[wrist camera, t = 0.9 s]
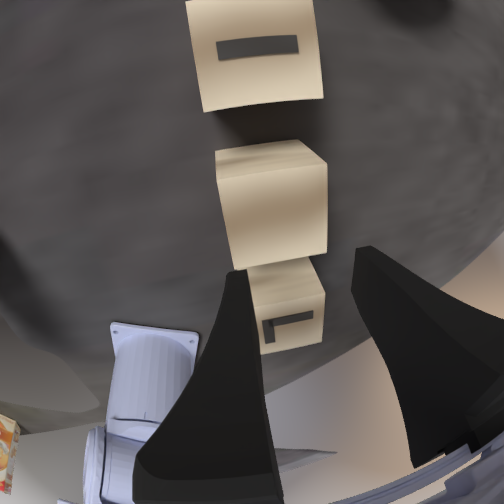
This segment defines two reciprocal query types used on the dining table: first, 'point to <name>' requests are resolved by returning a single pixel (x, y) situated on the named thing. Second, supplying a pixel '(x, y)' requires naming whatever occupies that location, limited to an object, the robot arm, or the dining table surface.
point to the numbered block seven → (287, 304)
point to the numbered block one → (254, 51)
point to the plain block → (273, 201)
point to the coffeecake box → (7, 451)
